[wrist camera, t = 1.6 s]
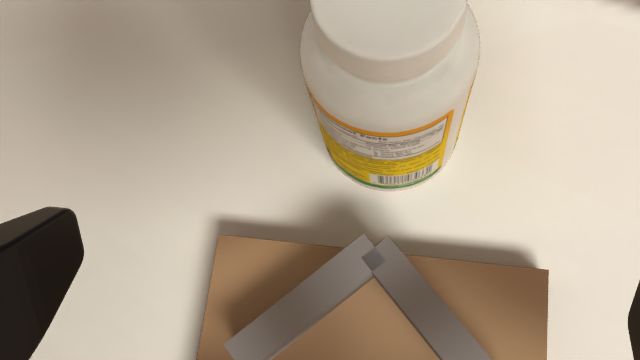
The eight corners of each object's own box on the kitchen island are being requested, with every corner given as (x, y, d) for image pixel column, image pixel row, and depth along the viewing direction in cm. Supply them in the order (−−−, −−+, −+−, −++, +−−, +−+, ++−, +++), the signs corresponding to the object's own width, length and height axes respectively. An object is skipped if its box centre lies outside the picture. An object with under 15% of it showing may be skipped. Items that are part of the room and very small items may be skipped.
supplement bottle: (404, 221, 23) (409, 129, 14) (298, 144, 24) (237, 15, 15) (485, 115, 23) (540, -39, 14) (377, 47, 25) (365, -131, 16)
